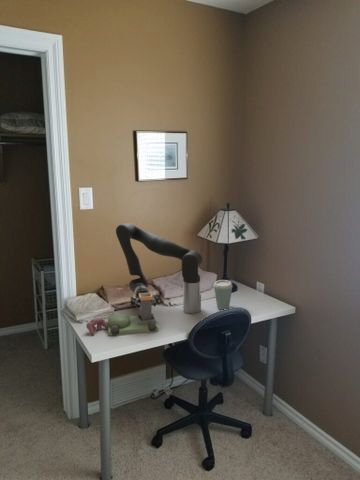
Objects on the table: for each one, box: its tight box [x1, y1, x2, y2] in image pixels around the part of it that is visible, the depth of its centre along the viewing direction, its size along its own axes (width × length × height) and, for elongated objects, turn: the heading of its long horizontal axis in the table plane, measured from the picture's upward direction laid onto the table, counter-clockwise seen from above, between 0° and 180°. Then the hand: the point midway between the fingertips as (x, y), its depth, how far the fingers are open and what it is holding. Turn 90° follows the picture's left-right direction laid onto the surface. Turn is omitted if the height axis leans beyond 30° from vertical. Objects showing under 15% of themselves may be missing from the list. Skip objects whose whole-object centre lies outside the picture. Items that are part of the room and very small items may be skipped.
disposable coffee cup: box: [213, 279, 233, 311], centre depth 218 cm, size 11×11×15 cm
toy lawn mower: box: [107, 312, 159, 336], centre depth 196 cm, size 24×16×5 cm
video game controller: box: [86, 317, 108, 336], centre depth 191 cm, size 10×5×7 cm, turn 139°
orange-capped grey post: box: [139, 291, 153, 321], centre depth 196 cm, size 6×6×14 cm
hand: (146, 305), depth 194 cm, fingers open, 8 cm apart
